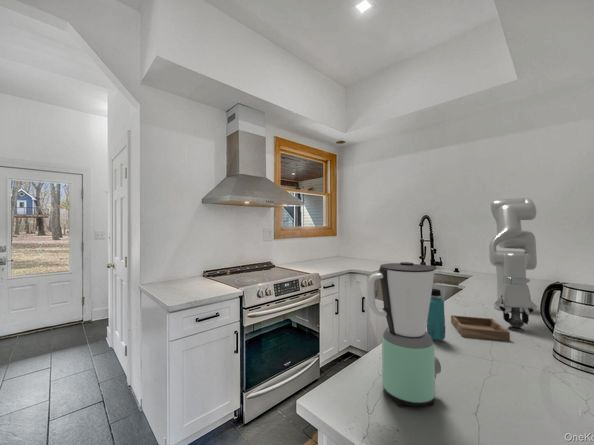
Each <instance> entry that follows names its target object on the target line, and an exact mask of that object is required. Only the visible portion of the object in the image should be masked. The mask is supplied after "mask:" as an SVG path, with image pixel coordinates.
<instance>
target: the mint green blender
mask: <svg viewBox="0 0 594 445" xmlns="http://www.w3.org/2000/svg"><path fill="white" fill-rule="evenodd" d="M437 268H438V266H436V265H429V264H420V263H419V264H416V263H414V262H409V261H408V262H407V261H404V262H403V261H401V262H399V263H397V262H395V263H393V262H392V263H383V264H380V266H379V271H378V272H375V273H372V274H370V275H369V277H368V280H367V302H368V307H369V309H370V311H371V312H373V314H375V315H376V316H379V317H385V319H386V322H387V327H386V329H384V331H383V333H382V340H381V342H382V344H381V350H382V351H381V353H382V354H381V355H382V356H381V358H382V360H381V363H382V364H381V370H382V371H381V372H382V373H381V375H382V378H381V381H382V382H381V385H382V388H383V391H385V393H386V394H387V395H388V396H390V398H392V399H393V400H394V401H396V406H397V407H399V408H405V406H406V405H407V406H412V407H424V406H427V405H428V406H431V407H432V406H434V405H435V397H436V393H437V392H436V379H437V374H440V373H441V372H442V365H441V362H440V359H438V357H437V356H436V352H435V344H434V339H433V338H431V336H430V335H429V334H428V333H427V319H428V313H429V306H430V300H431V297H432V295H431V293H432V289H433V285H434V277H435V273H436V270H437ZM376 280H379V281H380V286H381V287H380V288H381V294H382V301H383V307H382V309H379V308H378V307H377V305H376V296H375V294H376V293H375V282H376Z"/></svg>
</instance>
